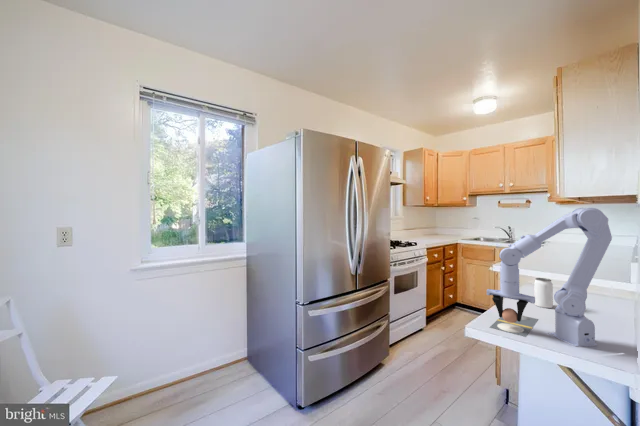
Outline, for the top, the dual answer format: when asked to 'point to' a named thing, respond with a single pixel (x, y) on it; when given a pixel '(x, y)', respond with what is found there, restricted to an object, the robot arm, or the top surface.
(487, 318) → the top surface
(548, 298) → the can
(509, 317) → the ball
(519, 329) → the white disc
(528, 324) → the mat
